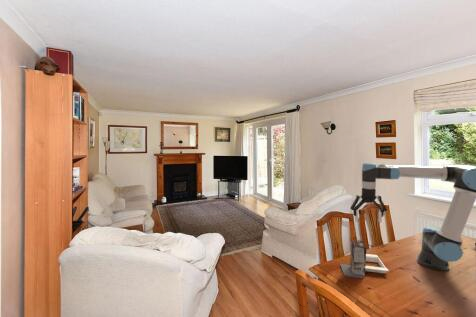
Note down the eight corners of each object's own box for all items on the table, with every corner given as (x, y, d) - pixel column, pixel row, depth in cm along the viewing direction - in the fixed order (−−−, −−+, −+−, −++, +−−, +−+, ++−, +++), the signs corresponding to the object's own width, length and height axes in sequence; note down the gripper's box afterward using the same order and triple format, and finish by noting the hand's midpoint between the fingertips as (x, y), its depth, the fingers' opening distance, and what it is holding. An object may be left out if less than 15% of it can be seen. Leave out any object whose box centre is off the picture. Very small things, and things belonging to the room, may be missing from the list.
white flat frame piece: (376, 259, 151) (376, 255, 151) (388, 276, 133) (388, 270, 132) (354, 257, 154) (355, 252, 154) (363, 273, 136) (363, 267, 135)
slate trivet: (357, 267, 142) (357, 265, 142) (363, 278, 131) (363, 276, 130) (340, 265, 144) (340, 263, 144) (344, 275, 133) (344, 274, 133)
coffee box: (365, 275, 132) (366, 248, 130) (352, 274, 133) (354, 246, 132) (361, 267, 140) (362, 241, 139) (349, 265, 142) (350, 240, 141)
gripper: (388, 187, 146) (387, 220, 147) (345, 186, 151) (345, 218, 152) (393, 189, 139) (392, 224, 140) (348, 188, 143) (348, 222, 145)
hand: (368, 221), depth 146 cm, fingers open, 13 cm apart
